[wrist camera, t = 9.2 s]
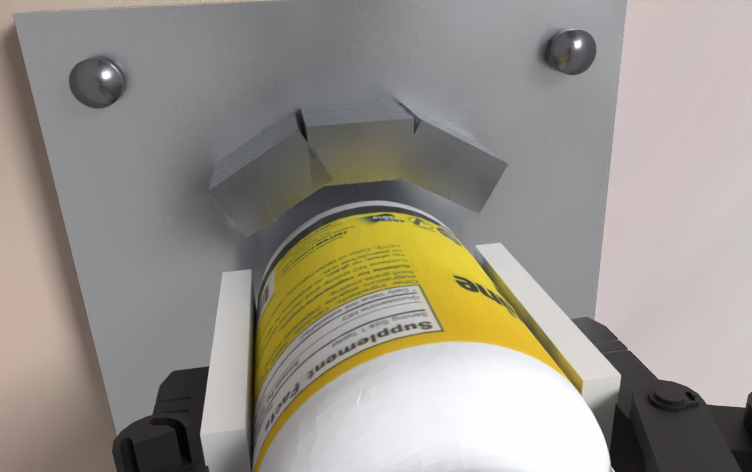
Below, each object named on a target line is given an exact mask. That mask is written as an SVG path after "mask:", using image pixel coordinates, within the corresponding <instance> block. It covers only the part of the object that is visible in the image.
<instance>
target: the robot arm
mask: <svg viewBox="0 0 752 472" xmlns="http://www.w3.org/2000/svg"><path fill="white" fill-rule="evenodd" d="M474 259H475V260H476V261H477V262H478V264H479V265H480V266H481V268H482V269H483V270H484V272H485V273H486V274H487V275H488V277H489V278H490V279H491V281H492V282H493V283H494V284H495V286H496V287H497V288H498V290H499V291H500V292H501V293H502V294H503V296H504V297H505V298H506V300H507V301H508V302H509V303H510V305H511V306H512V307H513V309H514V310H515V312H516V313H517V314H518V316H519V317H520V318H521V319H522V321H523V322H524V323H525V324H526V325H527V327H528V328H529V330H530V331H531V333H532V334H533V335H534V336H535V338H536V339H537V340H538V341H539V343H540V344H541V345H542V346H543V348H544V349H545V350H546V351H547V353H548V354H549V355H550V356H551V358H552V359H553V360H554V361H555V363H556V364H557V365H558V366H559V368H560V369H561V370H562V371H563V373H564V374H565V375H566V376H567V378H568V379H569V380H570V381H571V383H572V384H573V385H574V387H575V388H576V389H577V390H578V392H579V393H580V394H581V396H582V397H583V399H584V400H585V402H586V404H587V405H588V407H589V408H590V410H591V411H592V413H593V414H594V416H595V418H596V420H597V422H598V424H599V426H600V428H601V430H602V433H603V436H604V439H605V441H606V445H607V448H608V452H609V456H610V461H611V466H612V468H613V469H614V470H615V472H752V392H751V393H750V394H749V395H748V399H747V403H746V408H742V407H729V406H715V405H708V404H706V403H705V401H704V400H703V399H702V398H701V397H700V395H699V394H698V393H696V392H695V391H693V390H691V389H690V388H688V387H686V386H684V385H681V384H678V383H675V382H671V381H665V380H659V379H658V378H657V377H656V376H655V375H654V374H653V373H652V372H651V371H650V370H649V369H648V368H647V367H646V366H645V365H644V364H643V363H642V362H641V361H640V360H639V359H638V358H637V357H636V356H635V355H634V354H633V353H632V352H631V351H628V350H627V347H626V346H625V345H624V344H623V343H622V342H621V341H618V338H617V337H616V336H615V335H614V334H613V333H612V332H611V331H610V330H609V329H608V328H607V327H606V326H604V325H602V324H600V323H598V322H596V321H594V320H592V319H591V318H589V317H582V318H574V319H570V318H569V317H568V316H567V315H566V314H565V313H564V312H563V311H562V310H561V309H560V307H559V306H558V305H557V304H556V303H555V302H554V301H553V300H552V299H551V298H550V297H549V295H548V294H547V293H546V292H545V291H544V290H543V289H542V288H541V287H540V286H539V284H538V283H537V282H536V281H535V280H534V279H533V278H532V277H531V276H530V275H529V273H528V272H527V271H526V270H525V269H524V268H523V267H522V266H521V265H520V264H519V262H518V261H517V260H516V259H515V258H514V257H513V256H512V255H511V254H510V253H509V251H508V250H507V249H506V248H505V247H504V246H503V245H502V244H501V243H492V244H483V245H475V253H474ZM256 314H257V309H256V301H255V293H254V286H253V278H252V270H251V269H250V270H240V271H231V272H223V273H222V280H221V288H220V295H219V302H218V309H217V316H216V323H215V331H214V338H213V345H212V352H211V359H210V366H207V367H199V368H191V369H183V370H175V371H172V372H171V373H170V374H169V376H168V377H167V378H166V379H165V380H164V381H163V382H162V384H161V385H160V386H159V390H158V394H157V398H156V404H155V406H154V410H153V414H152V415H150V416H146V417H144V418H142V419H139V420H137V421H135V422H133V423H131V424H130V425H129V426H127V427H126V428H125V429H123V430H122V431H121V432H120V433H119V435H118V436H117V437H116V439H115V440H114V442H113V449H112V453H113V457H114V461H115V464H116V468H117V472H252V447H253V400H254V365H255V333H256Z"/></svg>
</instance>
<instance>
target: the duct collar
mask: <svg viewBox="0 0 752 472" xmlns="http://www.w3.org/2000/svg"><path fill="white" fill-rule="evenodd" d="M626 4H627V0H264V1H244V2H224V3H203V4H183V5H163V6H143V7H123V8H102V9H82V10H62V11H42V12H25V13H16V14H13V18H14V22H15V26H16V30H17V34H18V38H19V42H20V46H21V50H22V54H23V58H24V62H25V66H26V70H27V75H28V79H29V83H30V87H31V91H32V95H33V99H34V103H35V107H36V111H37V115H38V119H39V123H40V127H41V131H42V135H43V139H44V143H45V147H46V151H47V155H48V159H49V163H50V167H51V171H52V175H53V180H54V184H55V188H56V192H57V196H58V200H59V204H60V208H61V212H62V216H63V220H64V224H65V228H66V232H67V236H68V240H69V244H70V248H71V252H72V256H73V260H74V264H75V268H76V272H77V276H78V280H79V285H80V289H81V293H82V297H83V301H84V305H85V309H86V313H87V317H88V321H89V325H90V329H91V333H92V337H93V341H94V345H95V349H96V353H97V357H98V361H99V365H100V369H101V373H102V377H103V381H104V385H105V390H106V394H107V398H108V402H109V406H110V410H111V414H112V418H113V422H114V426H115V430H116V434H117V436H118V435H119V433H120V432H121V431H122V430H123V429H125V428H126V427H127V426H129V425H130V424H131V423H133V422H135V421H137V420H139V419H142V418H144V417H146V416H150V415H152V414H153V410H154V406H155V404H156V398H157V394H158V390H159V386H160V385H161V384H162V382H163V381H164V380H165V379H166V378H167V377H168V376H169V374H170V373H171V372H172V371H175V370H183V369H191V368H199V367H207V366H210V359H211V352H212V345H213V338H214V331H215V323H216V316H217V309H218V302H219V295H220V288H221V280H222V273H223V272H231V271H240V270H250V269H251V270H252V278H253V286H254V293H255V301H256V309H257V303H258V294H259V289H260V284H261V281H262V278H263V275H264V272H265V269H266V267H267V265H268V263H269V261H270V259H271V258H272V256H273V255H274V253H275V252H276V250H277V249H278V248H279V246H280V245H281V244H282V243H283V241H284V240H285V239H286V238H287V237H288V236H289V235H290V234H291V233H293V232H294V231H295V230H296V229H297V228H298V227H299V226H301V225H302V224H303V223H305V222H306V221H308V220H309V219H311V218H313V217H314V216H316V215H318V214H320V213H323V212H325V211H327V210H330V209H332V208H335V207H338V206H342V205H345V204H350V203H356V202H361V201H390V202H396V203H400V204H404V205H408V206H411V207H414V208H417V209H419V210H422V211H424V212H425V213H427V214H429V215H431V216H433V217H434V218H436V219H437V220H439V221H440V222H442V223H443V224H444V225H445V226H446V227H448V228H449V229H450V230H451V231H452V232H453V233H454V235H455V236H456V237H457V238H458V239H459V240H460V241H461V243H462V244H463V245H464V246H465V247H466V249H467V250H468V251H469V252H470V254H471V255H472V256H473V257H474V253H475V245H483V244H492V243H501V244H502V245H503V246H504V247H505V248H506V249H507V250H508V251H509V253H510V254H511V255H512V256H513V257H514V258H515V259H516V260H517V261H518V262H519V264H520V265H521V266H522V267H523V268H524V269H525V270H526V271H527V272H528V273H529V275H530V276H531V277H532V278H533V279H534V280H535V281H536V282H537V283H538V284H539V286H540V287H541V288H542V289H543V290H544V291H545V292H546V293H547V294H548V295H549V297H550V298H551V299H552V300H553V301H554V302H555V303H556V304H557V305H558V306H559V307H560V309H561V310H562V311H563V312H564V313H565V314H566V315H567V316H568V317H569V318H570V319H574V318H582V317H589V318H591V319H592V320H594V318H595V308H596V298H597V288H598V279H599V269H600V259H601V249H602V239H603V230H604V220H605V210H606V200H607V190H608V181H609V171H610V161H611V151H612V141H613V132H614V122H615V112H616V102H617V92H618V83H619V73H620V63H621V53H622V43H623V34H624V24H625V14H626Z"/></svg>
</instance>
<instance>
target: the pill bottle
mask: <svg viewBox="0 0 752 472" xmlns="http://www.w3.org/2000/svg"><path fill="white" fill-rule="evenodd" d="M252 472H612V470H611V461H610V456H609V452H608V448H607V445H606V441H605V439H604V436H603V433H602V430H601V428H600V426H599V424H598V422H597V420H596V418H595V416H594V414H593V413H592V411H591V410H590V408H589V407H588V405H587V404H586V402H585V400H584V399H583V397H582V396H581V394H580V393H579V392H578V390H577V389H576V388H575V387H574V385H573V384H572V383H571V381H570V380H569V379H568V378H567V376H566V375H565V374H564V373H563V371H562V370H561V369H560V368H559V366H558V365H557V364H556V363H555V361H554V360H553V359H552V358H551V356H550V355H549V354H548V353H547V351H546V350H545V349H544V348H543V346H542V345H541V344H540V343H539V341H538V340H537V339H536V338H535V336H534V335H533V334H532V333H531V331H530V330H529V328H528V327H527V325H526V324H525V323H524V322H523V321H522V319H521V318H520V317H519V316H518V314H517V313H516V312H515V310H514V309H513V307H512V306H511V305H510V303H509V302H508V301H507V300H506V298H505V297H504V296H503V294H502V293H501V292H500V291H499V290H498V288H497V287H496V286H495V284H494V283H493V282H492V281H491V279H490V278H489V277H488V275H487V274H486V273H485V272H484V270H483V269H482V268H481V266H480V265H479V264H478V262H477V261H476V260H475V259H474V257H473V256H472V255H471V254H470V252H469V251H468V250H467V249H466V247H465V246H464V245H463V244H462V243H461V241H460V240H459V239H458V238H457V237H456V236H455V235H454V233H453V232H452V231H451V230H450V229H449V228H448V227H446V226H445V225H444V224H443V223H442V222H440V221H439V220H437V219H436V218H434V217H433V216H431V215H429V214H427V213H425V212H424V211H422V210H419V209H417V208H414V207H411V206H408V205H404V204H400V203H396V202H390V201H361V202H356V203H350V204H345V205H342V206H338V207H335V208H332V209H330V210H327V211H325V212H323V213H320V214H318V215H316V216H314V217H313V218H311V219H309V220H308V221H306V222H305V223H303V224H302V225H301V226H299V227H298V228H297V229H296V230H295V231H294V232H293V233H291V234H290V235H289V236H288V237H287V238H286V239H285V240H284V241H283V243H282V244H281V245H280V246H279V248H278V249H277V250H276V252H275V253H274V255H273V256H272V258H271V259H270V261H269V263H268V265H267V267H266V269H265V272H264V275H263V278H262V281H261V284H260V289H259V294H258V303H257V314H256V333H255V365H254V400H253V447H252Z"/></svg>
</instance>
